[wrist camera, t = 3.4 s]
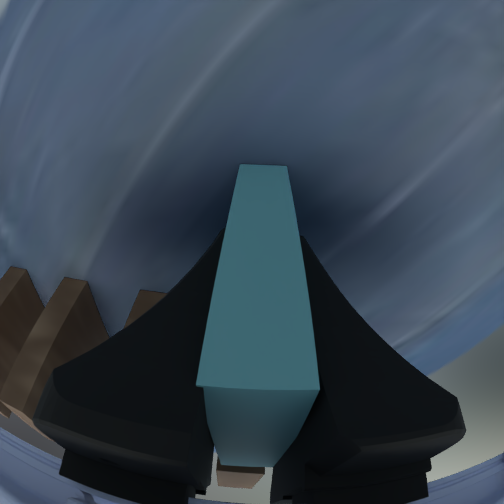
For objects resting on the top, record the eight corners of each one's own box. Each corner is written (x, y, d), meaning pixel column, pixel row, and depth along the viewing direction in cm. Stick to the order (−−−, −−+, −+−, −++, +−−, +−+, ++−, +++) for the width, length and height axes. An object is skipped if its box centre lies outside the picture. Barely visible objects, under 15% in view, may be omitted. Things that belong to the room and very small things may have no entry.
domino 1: (26, 269, 14) (-39, 375, 8) (53, 323, 17) (8, 418, 11) (10, 266, 14) (-54, 364, 8) (37, 319, 17) (-7, 409, 11)
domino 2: (87, 281, 14) (22, 412, 8) (109, 337, 17) (69, 448, 11) (64, 277, 14) (-3, 398, 8) (88, 333, 17) (47, 438, 11)
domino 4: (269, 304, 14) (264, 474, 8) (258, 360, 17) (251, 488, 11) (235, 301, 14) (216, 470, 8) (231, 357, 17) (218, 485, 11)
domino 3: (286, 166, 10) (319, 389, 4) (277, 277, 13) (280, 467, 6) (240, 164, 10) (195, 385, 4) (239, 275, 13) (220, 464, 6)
